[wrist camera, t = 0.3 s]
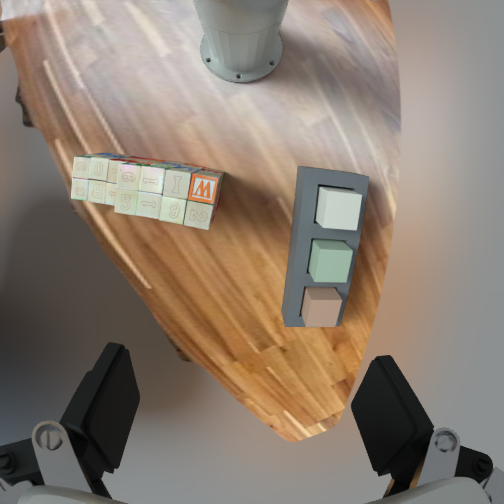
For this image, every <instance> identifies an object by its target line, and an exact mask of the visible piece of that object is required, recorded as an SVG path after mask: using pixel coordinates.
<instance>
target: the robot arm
mask: <svg viewBox="0 0 504 504" xmlns="http://www.w3.org/2000/svg"><path fill="white" fill-rule="evenodd" d="M372 1H375V0H372ZM193 2H194V5H195V8H196V11H197V13H198V16H199V19H200V22H201V25H202V28H203V31H204V36H203V38H202V41H201V45H200V53H201V57H202V60H203V62H204V64H205V65H206V67H207V68H208V69H209V70H210V71H211V72H212V73H213V74H214V75H216V76H217V77H219V78H222V79H224V80H228V81H232V82H250V81H254V80H257V79H260V78H262V77H264V76H266V75H267V74H269V73H270V72H271V71H272V70H273V69H274V68H275V67H276V66H277V64H278V63H279V61H280V59H281V55H282V49H283V45H282V40H281V38H280V35H279V34H278V32H279V29H280V26H281V23H282V20H283V17H284V15H285V12H286V8H287V5H288V0H193ZM208 61H211V62H209V63H208ZM270 63H272V64H273V65H270ZM238 76H240V77H241V78H240V79H238V78H237V77H238ZM139 401H140V394H139V390H138V386H137V383H136V379H135V375H134V371H133V367H132V363H131V358H130V354H129V350H128V349H125V347H124V345H122V344H117V343H112V342H109V343H108V344H107V345H106V347H105V349H104V350H103V352H102V354H101V355H100V357H99V359H98V360H97V362H96V364H95V366H94V367H93V369H92V371H88V372H87V373H86V374H85V376H84V378H83V380H82V381H81V383H80V385H79V387H78V388H77V390H76V392H75V394H74V396H73V398H72V399H71V401H70V403H69V405H68V407H67V409H66V411H65V413H64V414H63V416H62V418H61V420H60V422H59V423H57V422H55V421H44V422H41V423H39V424H38V425H37V426H36V427H35V428H34V430H33V433H32V438H29V439H26V440H22V441H19V442H15V443H11V444H7V445H3V446H0V504H127V503H124V502H120V501H117V500H113V499H112V497H111V495H110V494H109V492H108V490H107V488H106V487H105V485H104V483H103V481H102V479H101V478H102V476H103V472H104V471H105V472H109V473H112V474H113V472H114V468H116V469H117V468H119V466H120V462H121V459H122V455H123V452H124V449H125V445H126V442H127V439H128V435H129V432H130V429H131V426H132V423H133V420H134V417H135V413H136V411H137V408H138V405H139ZM351 409H352V412H353V415H354V418H355V420H356V423H357V426H358V429H359V431H360V434H361V437H362V439H363V442H364V445H365V448H366V451H367V453H368V456H369V459H370V462H371V465H372V468H373V470H374V471H377V473H378V476H382V475H386V474H389V473H390V474H391V477H392V479H391V481H390V483H389V485H388V487H387V489H386V491H385V494H384V496H383V498H382V499H379V500H376V501H373V502H369V503H366V504H504V472H503V471H501V470H500V469H498V468H497V467H495V468H493V463H492V460H491V458H490V457H489V456H488V455H486V454H484V453H481V452H478V451H475V450H472V449H469V448H466V447H463V446H461V445H460V439H459V437H458V435H457V433H456V432H454V431H453V430H451V429H449V428H439V429H437V430H436V431H435V432H434V430H433V428H434V426H433V424H432V422H431V421H430V419H429V417H428V415H427V414H426V412H425V410H424V408H423V407H422V405H421V403H420V402H419V400H418V398H417V397H416V395H415V393H414V392H413V390H412V389H411V387H410V385H409V383H408V382H407V380H406V379H405V377H404V375H403V374H402V372H401V370H400V369H399V367H398V366H397V364H396V363H395V361H394V359H393V358H392V357H391V356H390V355H385V356H377V357H376V358H375V359H374V360H372V362H371V363H370V365H369V368H368V370H367V372H366V374H365V376H364V379H363V381H362V383H361V385H360V387H359V389H358V391H357V393H356V395H355V397H354V399H353V401H352V403H351Z"/></svg>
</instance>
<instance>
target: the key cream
mask: <svg viewBox="0 0 504 504" xmlns="http://www.w3.org/2000/svg"><path fill="white" fill-rule="evenodd" d="M361 199H362V195H361V194H359V193H356V192H354V191H351V190H349V189H341V188H333V187H324V186H318V189H317V198H316V207H315V215H314V219H315V220H316V221H317V222H318V223H319V224H320V225H321V226H322V227H323V228H332V229H345V230H357V225H358V219H359V213H360V206H361Z"/></svg>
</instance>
